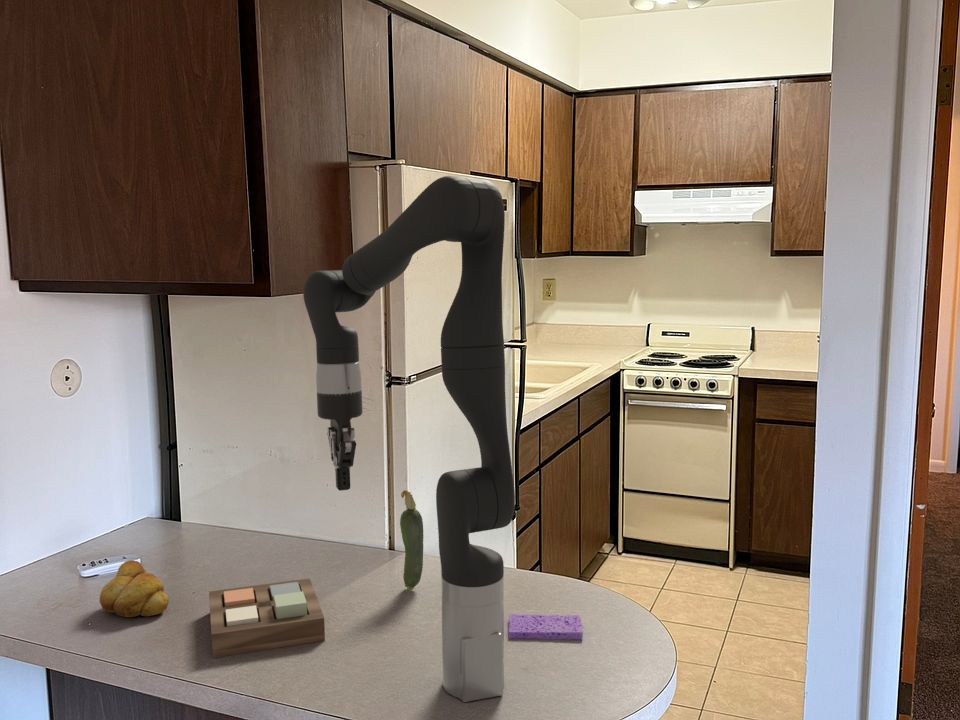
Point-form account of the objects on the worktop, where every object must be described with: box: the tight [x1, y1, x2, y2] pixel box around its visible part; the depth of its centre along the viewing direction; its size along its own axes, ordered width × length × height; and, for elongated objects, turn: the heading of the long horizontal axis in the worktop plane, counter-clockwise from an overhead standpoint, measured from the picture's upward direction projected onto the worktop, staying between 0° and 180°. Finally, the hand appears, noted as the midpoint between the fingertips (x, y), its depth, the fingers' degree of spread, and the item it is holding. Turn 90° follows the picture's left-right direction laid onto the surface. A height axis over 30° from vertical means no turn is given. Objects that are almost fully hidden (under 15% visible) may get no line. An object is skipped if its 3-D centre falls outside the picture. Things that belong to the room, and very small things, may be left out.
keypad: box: [208, 578, 326, 659], centre depth 148 cm, size 18×18×4 cm
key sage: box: [274, 591, 307, 619], centre depth 145 cm, size 5×5×3 cm
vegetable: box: [399, 489, 424, 591], centre depth 162 cm, size 4×4×20 cm
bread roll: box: [99, 559, 169, 618], centre depth 155 cm, size 13×10×8 cm
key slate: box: [270, 582, 301, 601], centre depth 153 cm, size 5×5×3 cm
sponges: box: [508, 613, 584, 640], centre depth 146 cm, size 7×13×2 cm, turn 86°
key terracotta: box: [224, 588, 255, 607], centre depth 151 cm, size 5×5×3 cm
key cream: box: [226, 605, 258, 627], centre depth 143 cm, size 5×5×3 cm
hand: (343, 488), depth 146 cm, fingers closed
